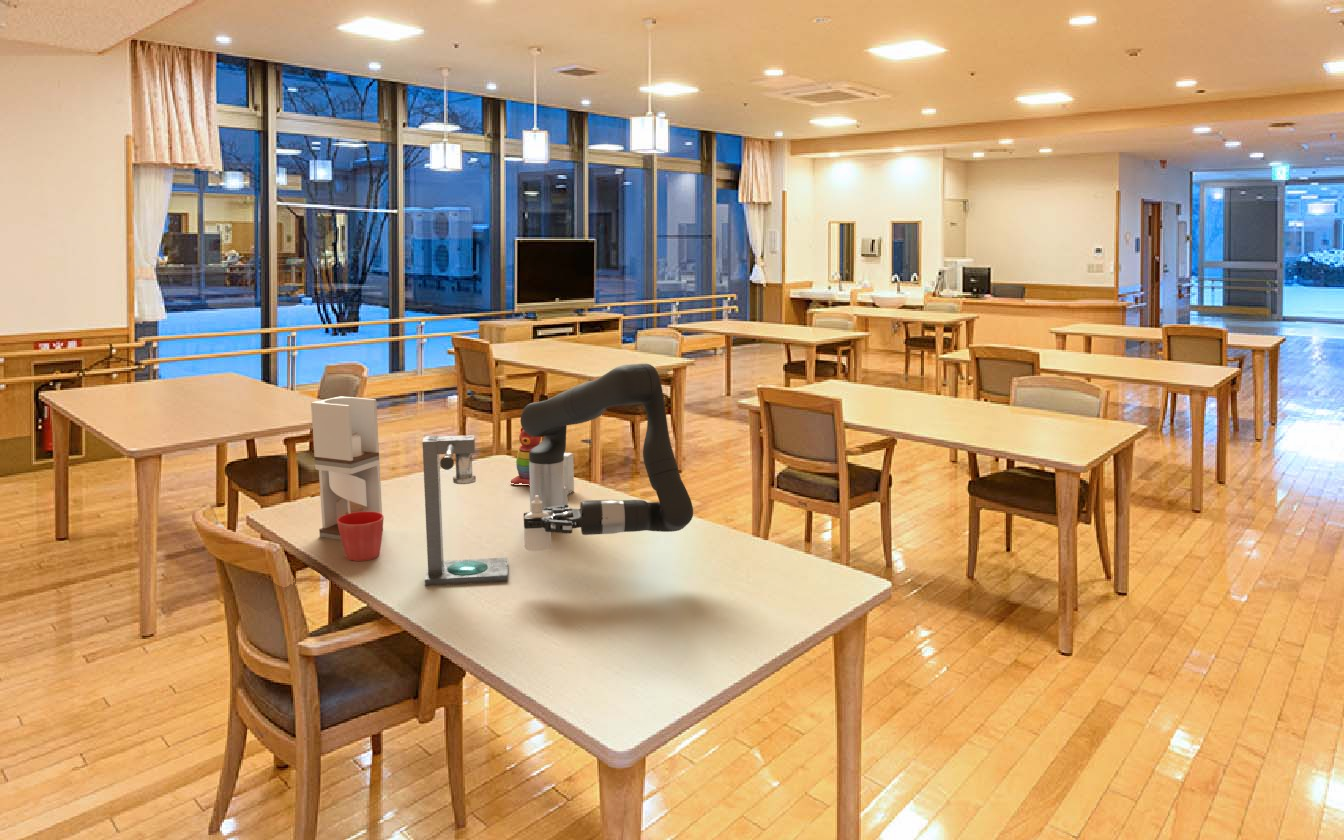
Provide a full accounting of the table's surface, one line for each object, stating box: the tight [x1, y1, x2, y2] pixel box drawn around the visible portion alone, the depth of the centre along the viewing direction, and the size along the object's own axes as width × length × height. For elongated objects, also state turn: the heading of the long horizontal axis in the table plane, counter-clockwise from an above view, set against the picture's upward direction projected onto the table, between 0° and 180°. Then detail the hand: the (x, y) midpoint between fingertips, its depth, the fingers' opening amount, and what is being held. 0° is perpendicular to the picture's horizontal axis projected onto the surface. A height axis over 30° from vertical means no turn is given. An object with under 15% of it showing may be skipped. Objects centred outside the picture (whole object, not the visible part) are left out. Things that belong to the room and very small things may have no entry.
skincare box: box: [564, 452, 575, 495], centre depth 285 cm, size 6×4×12 cm
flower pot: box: [337, 511, 385, 562], centre depth 227 cm, size 11×11×10 cm
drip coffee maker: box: [310, 395, 384, 541], centre depth 241 cm, size 11×11×35 cm
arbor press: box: [421, 434, 509, 587], centre depth 207 cm, size 18×25×32 cm
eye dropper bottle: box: [523, 495, 552, 552], centre depth 206 cm, size 4×6×12 cm
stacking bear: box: [510, 427, 542, 485], centre depth 295 cm, size 11×10×18 cm
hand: (524, 520), depth 205 cm, fingers closed on eye dropper bottle, 3 cm apart
